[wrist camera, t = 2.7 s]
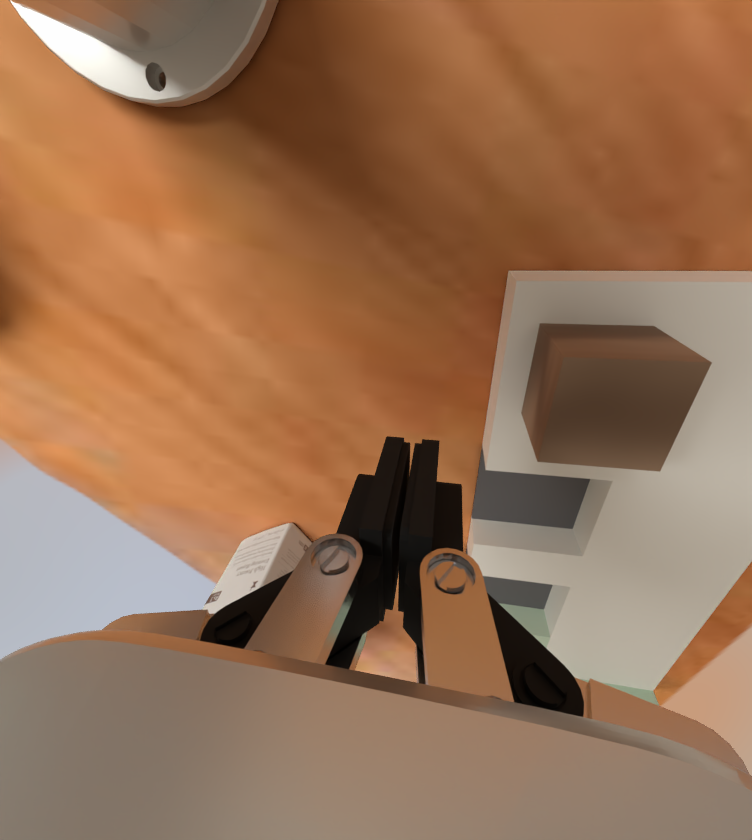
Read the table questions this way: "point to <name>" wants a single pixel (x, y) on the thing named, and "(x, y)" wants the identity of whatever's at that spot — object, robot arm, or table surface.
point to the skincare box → (259, 564)
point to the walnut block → (609, 394)
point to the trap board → (620, 483)
